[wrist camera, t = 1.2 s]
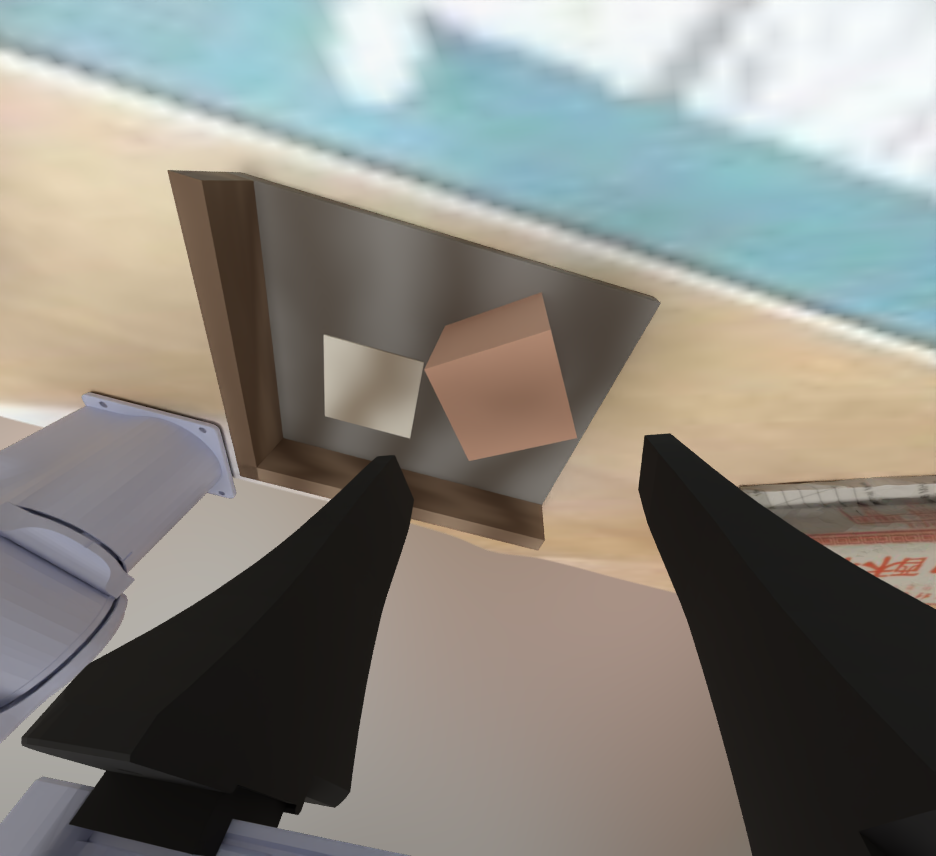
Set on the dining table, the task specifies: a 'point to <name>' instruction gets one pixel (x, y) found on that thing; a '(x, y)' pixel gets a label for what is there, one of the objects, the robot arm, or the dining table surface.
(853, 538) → the packaged product
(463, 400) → the cube
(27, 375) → the dining table surface
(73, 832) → the robot arm
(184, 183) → the tray
